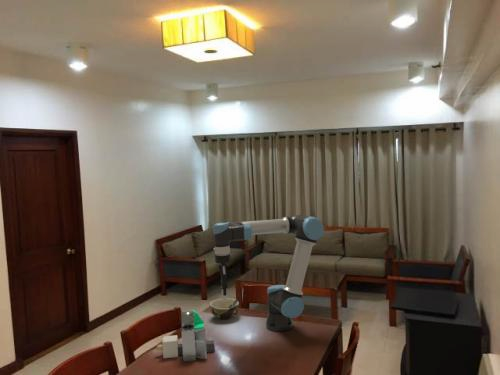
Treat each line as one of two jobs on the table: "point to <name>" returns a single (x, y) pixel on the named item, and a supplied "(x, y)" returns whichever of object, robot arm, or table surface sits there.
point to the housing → (192, 338)
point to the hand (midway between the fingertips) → (225, 300)
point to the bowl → (224, 308)
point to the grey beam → (178, 346)
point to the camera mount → (197, 321)
